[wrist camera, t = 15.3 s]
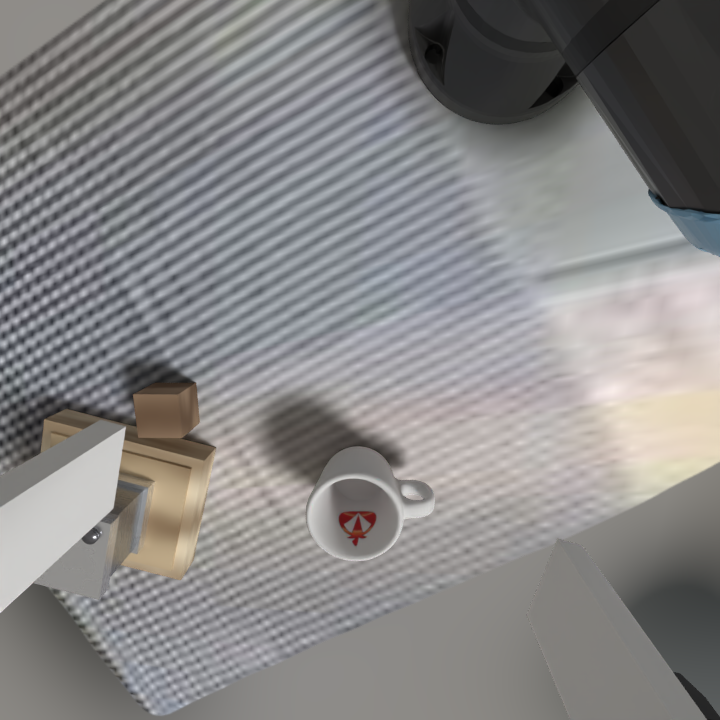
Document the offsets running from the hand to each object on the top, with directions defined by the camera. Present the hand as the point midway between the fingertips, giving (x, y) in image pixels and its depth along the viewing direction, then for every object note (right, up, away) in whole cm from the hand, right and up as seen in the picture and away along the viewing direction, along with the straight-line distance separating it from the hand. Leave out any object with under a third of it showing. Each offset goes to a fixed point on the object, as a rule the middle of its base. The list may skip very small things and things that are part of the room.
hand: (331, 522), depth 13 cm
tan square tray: (-22, -8, +32) cm, 40 cm away
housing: (-22, -9, +29) cm, 38 cm away
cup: (+2, -6, +31) cm, 32 cm away
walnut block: (-17, +1, +30) cm, 34 cm away
